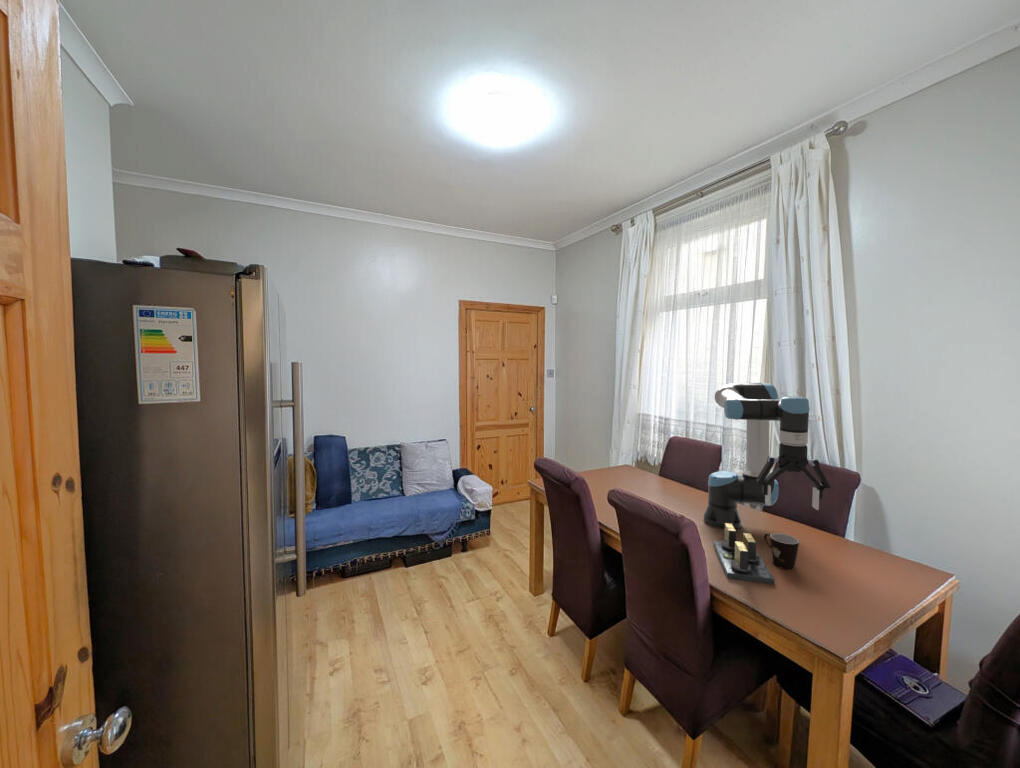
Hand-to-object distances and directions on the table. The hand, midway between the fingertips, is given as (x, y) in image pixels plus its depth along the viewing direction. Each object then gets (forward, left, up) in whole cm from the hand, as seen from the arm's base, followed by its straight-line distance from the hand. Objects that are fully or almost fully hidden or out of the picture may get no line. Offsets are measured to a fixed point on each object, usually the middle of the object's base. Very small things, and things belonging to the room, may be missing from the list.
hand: (791, 506), depth 128 cm
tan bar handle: (-1, -14, -24) cm, 28 cm away
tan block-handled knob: (-17, -14, -24) cm, 33 cm away
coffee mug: (-14, +2, -27) cm, 30 cm away
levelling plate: (-9, -12, -26) cm, 30 cm away
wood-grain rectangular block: (-9, -10, -24) cm, 28 cm away
